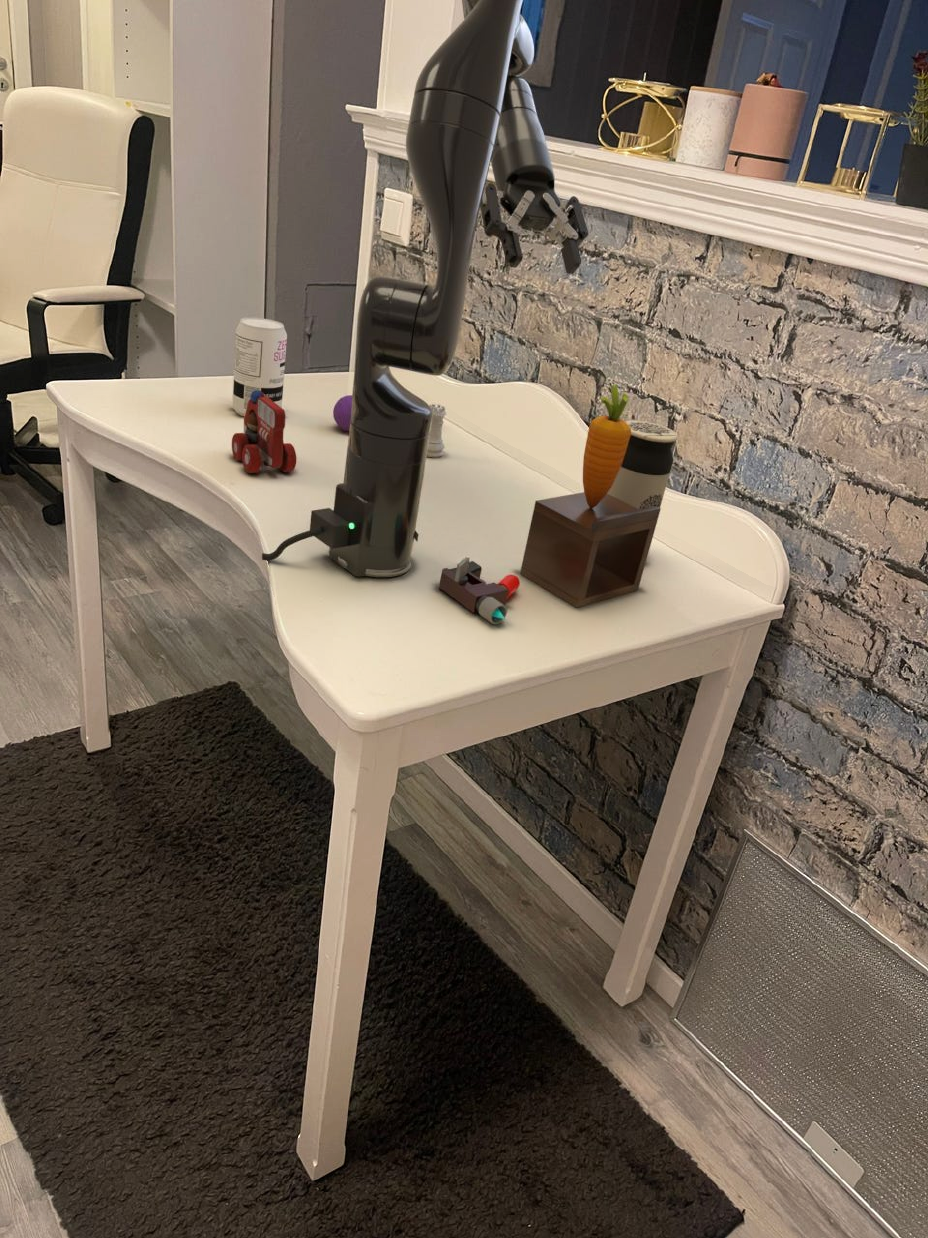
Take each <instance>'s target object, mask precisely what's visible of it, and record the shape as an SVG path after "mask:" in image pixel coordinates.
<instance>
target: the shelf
mask: <svg viewBox="0 0 928 1238" xmlns="http://www.w3.org/2000/svg"><path fill="white" fill-rule="evenodd" d="M660 514H661V507H660V508H659V507H657V506H655V507H650V508H645V509H640V510H639V509H637V508H635V507H633V506H631V505H629V504H627V503H625V502H623V501H621V500H619V499H617V498H615V497H613V496H611V495H609V494H606V495H605V497H604V498H603V499H602V500H601V501H600V502H599V504H598V505H597V506H595V507H593V508H590V507H589V505H588V504H587V501H586V497H585V493H584V491H583V492H577V493H572V494H567V495H560V496H555V497H549V498H543V499H538V500H535V502H534V506H533V511H532V516H531V519H530V524H529V529H528V534H527V539H526V544H525V549H524V553H523V557H522V558H523V559H522V562H521V567H520V571H519V574H520V575H522V576H523V577H526V578H527V579H529V580H530V581H532V582H533V583H535V584H536V585H539V586H540V587H542V588H543V589H545V590H547V591H548V592H550V593H551V594H553V595H554V596H557V597H558V598H560V599H562V600H563V601H565V602H567V603H568V604H570V605H572V606H573V607H574V608H577V609H578V608H580V607H584V606H587V605H591V604H594V603H596V602H597V603H599V602H601V601H604V600H608V599H611V598H614V597H618V596H621V595H625V594H628V593H631V592H635V591H638V590H639V588H640V584H641V581H642V578H643V574H644V570H645V566H646V563H647V559H648V556H649V552H650V548H651V546H652V542H653V538H654V534H655V531H656V527H657V524H658V520H659V516H660Z"/></svg>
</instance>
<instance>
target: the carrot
mask: <svg viewBox="0 0 928 1238" xmlns="http://www.w3.org/2000/svg"><path fill="white" fill-rule="evenodd" d="M610 395H611V401H612V402H611V401H610V399H609V398H608V397H606V396H602V397H600V401H601V402H602V404H603V405H605V408H606V411H607V413H608V415H601V416H598V417H595V418H593V419H592V420H591V421H590V423H589V426H588V431H587V436H586V440H585V447H584V453H583V461H582V462H583V463H582V486H583V492H584V493H585V497H586V501H587V504H588V505H589V507H590V508H593V507H595V506H597V505H598V504H599V502H600V501H601V500H602V499H603V498H604V497H605V495H606V494H607V493H608V491H609V490H610V488H611V487H612V485H613V483H614V481H615V479H616V476H617V474H618V472H619V470H620V467H621V465H622V462H623V459H624V456H625V453H626V449H627V446H628V442H629V439H630V435H631V428H630V427H629V425H628V424H627V423H626V422H625V420H624V419H623V418H621V416H622V414H623V412H624V410H625V408H626V406H627V403H628V402H629V395H628V394H627V393H623V394H622V397H621V400H620V396H619V390H618V385H615V384H612V385H610Z"/></svg>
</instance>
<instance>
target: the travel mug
mask: <svg viewBox="0 0 928 1238" xmlns="http://www.w3.org/2000/svg"><path fill="white" fill-rule="evenodd" d="M624 421H625V420H624ZM625 422H626V423H627V424H628V425H629V427H630V428H631V435H630V439H629V442H628V446H627V449H626V453H625V456H624V459H623V462H622V465H621V467H620V470H619V472H618V474H617V476H616V479H615V481H614V483H613V485H612V487H611V488H610V490H609V491H608V493H607V494H609V495H611V496H613V497H615V498H617V499H619V500H621V501H623V502H625V503H627V504H629V505H631V506H633V507H635V508H637V509H639V510H640V509H645V508H650V507H655V506H657V507H659V508H661V506H662V502H663V499H664V495H665V492H666V489H667V485H668V481H669V477H670V474H671V472H672V471H671V470H672V467H673V463H674V456H673V451H672V448H673V446H674V444H675V442H676V441H677V440H678V439H679V435H678V433H676V431H674V430H672V428H670V427H666V426H664V425H661V424H658V423H654V422H650V421H644V420H626V421H625Z"/></svg>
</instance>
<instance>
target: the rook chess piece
mask: <svg viewBox="0 0 928 1238" xmlns="http://www.w3.org/2000/svg"><path fill="white" fill-rule="evenodd" d="M429 406H430V408H431V410H432V424H431V431H430V438H429V444H428V451H427V457H428V458H433V459H434V458H436V459H437V458H441V457H442V456H443V455H444V453H445V452H444V449H445V444H444V441H443V437H442V432H443V431H442V430H443V425H444V423H445V422H444V418H445V416H446V415H447V412H446V407H445V406H444V405H441V404H437V406H436V403H431V404H429ZM427 457H426V458H427Z"/></svg>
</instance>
